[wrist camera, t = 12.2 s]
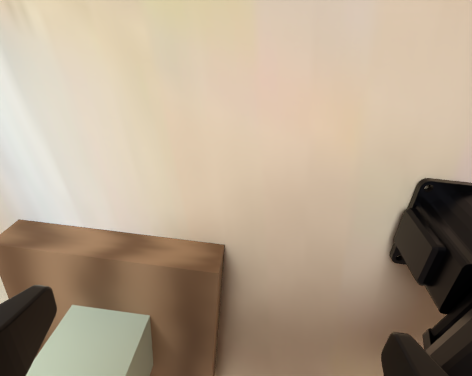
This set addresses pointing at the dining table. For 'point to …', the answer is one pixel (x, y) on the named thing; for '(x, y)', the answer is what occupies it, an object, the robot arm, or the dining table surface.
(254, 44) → the dining table surface
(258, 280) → the dining table surface
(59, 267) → the walnut board
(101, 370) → the sage cube
